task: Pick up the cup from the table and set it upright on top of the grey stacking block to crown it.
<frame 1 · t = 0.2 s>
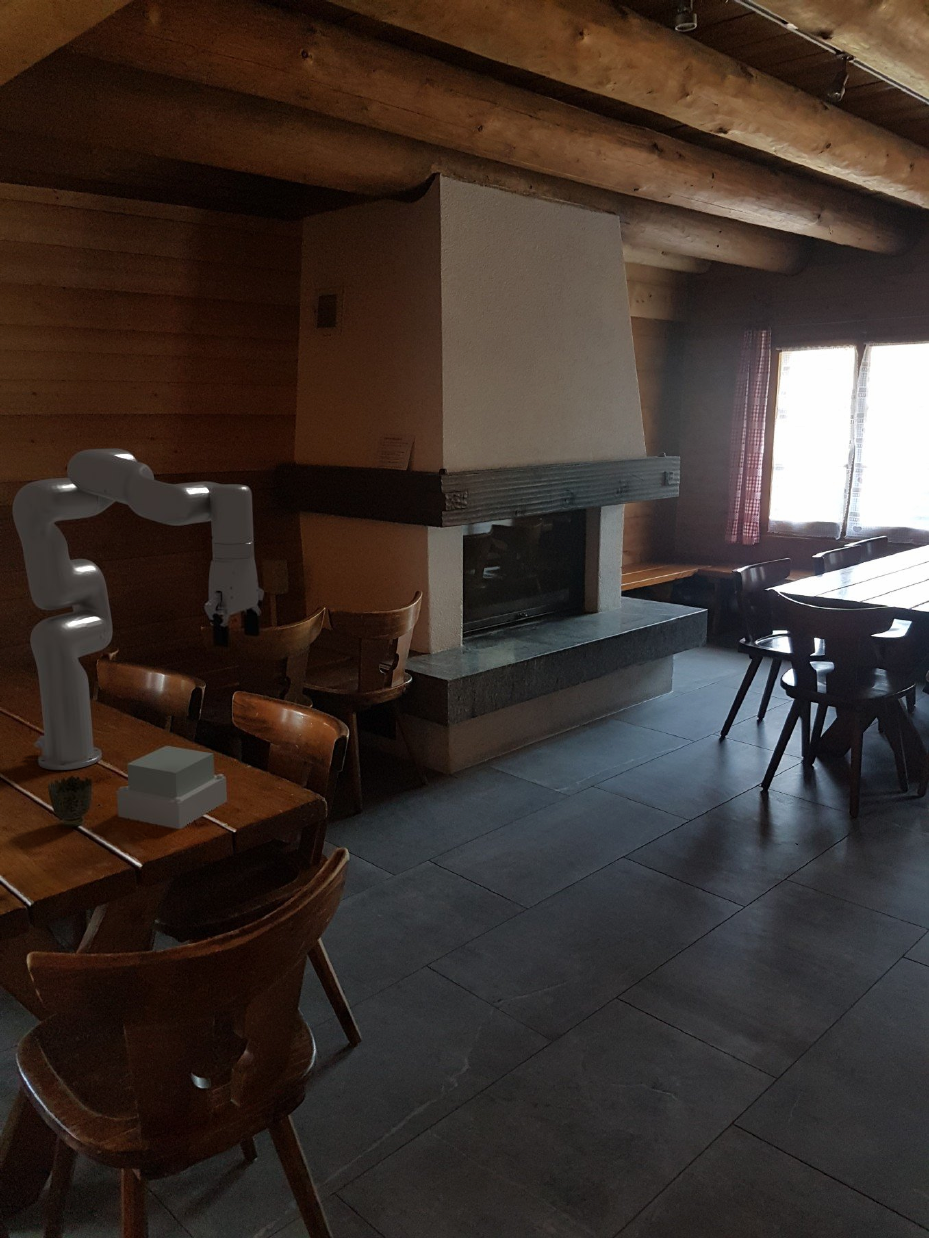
hand: (237, 640, 186), 31 cm above the table, tool pointing down, fingers open, 9 cm apart
grey stacking block: (173, 808, 185), on the table
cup: (73, 825, 178), on the table
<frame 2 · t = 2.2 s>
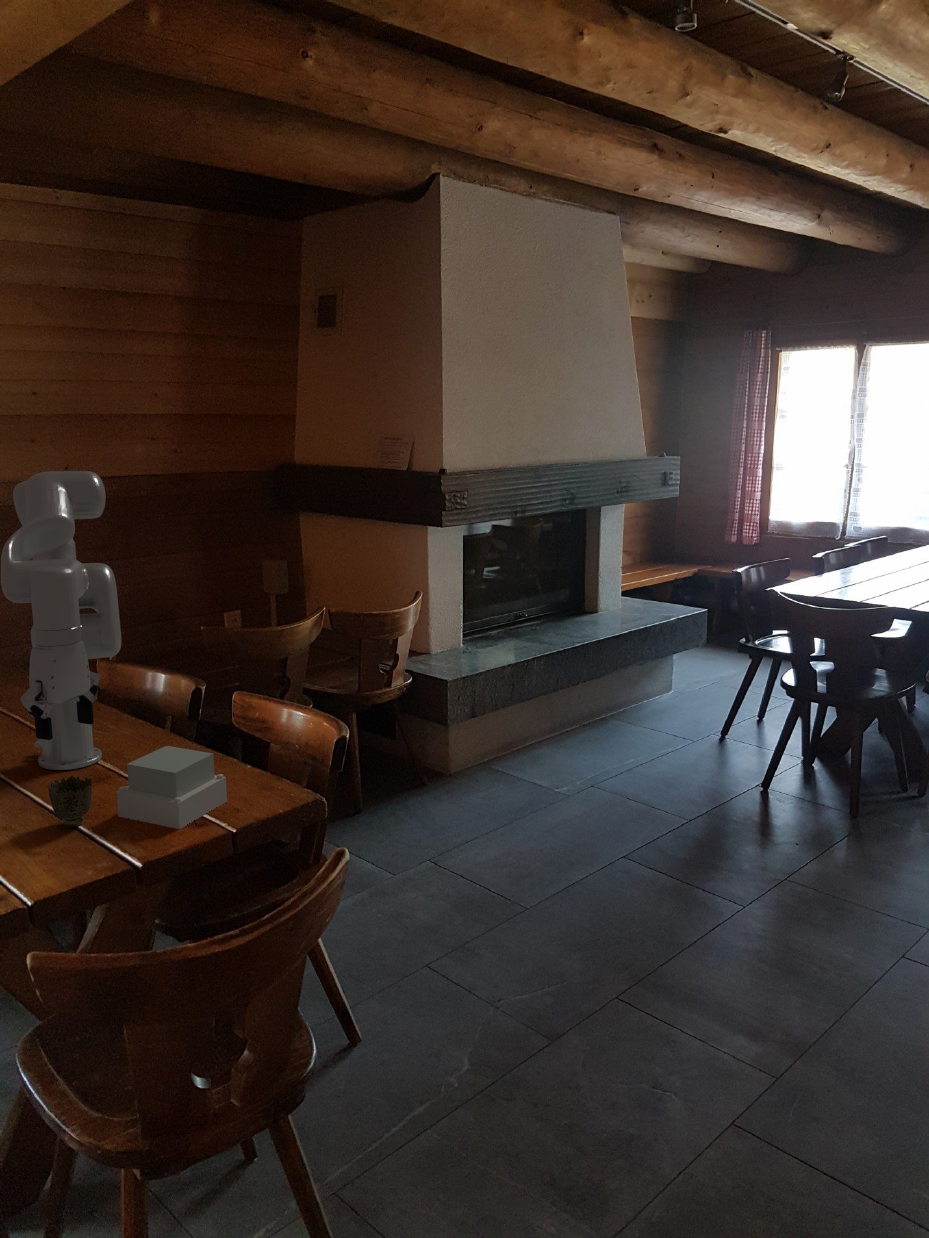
hand: (65, 730, 174), 18 cm above the table, tool pointing down, fingers open, 9 cm apart
nothing on the table moved.
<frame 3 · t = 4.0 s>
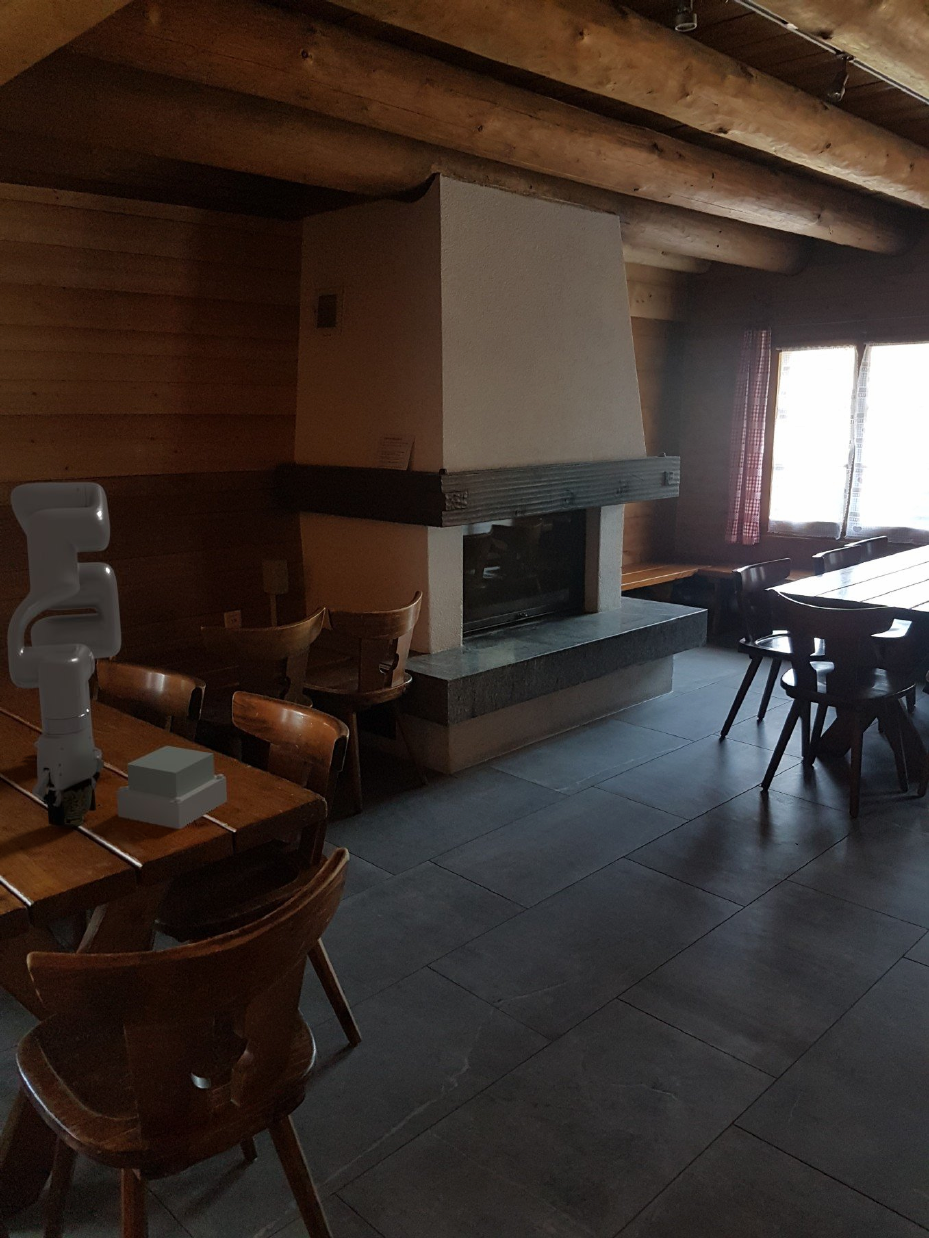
hand: (72, 816, 177), 2 cm above the table, tool pointing down, fingers closed on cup, 6 cm apart
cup: (73, 825, 178), on the table, touching gripper
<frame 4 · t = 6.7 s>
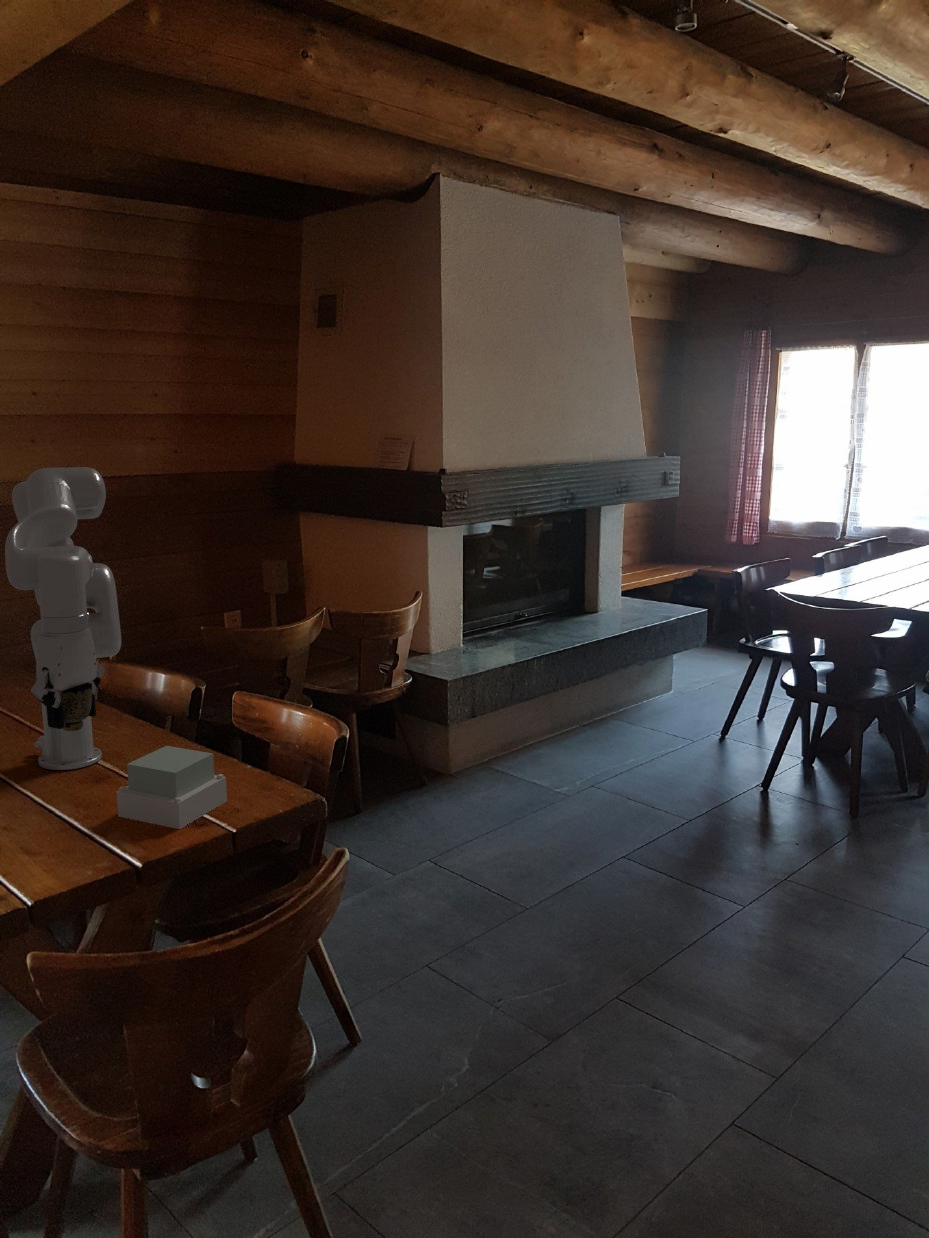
hand: (72, 720, 174), 20 cm above the table, tool pointing down, fingers closed on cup, 6 cm apart
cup: (73, 730, 175), point 18 cm above the table, touching gripper
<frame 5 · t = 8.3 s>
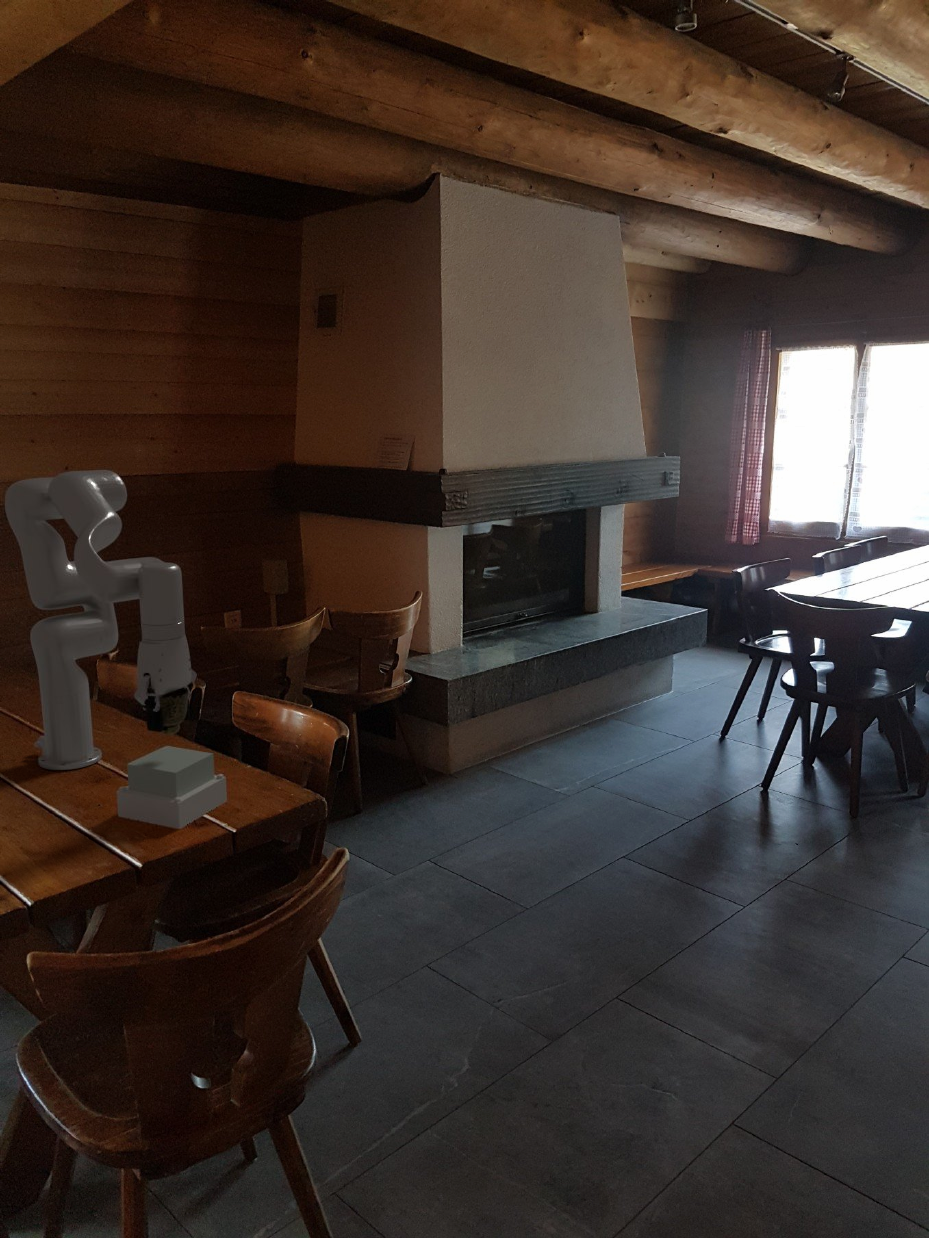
hand: (169, 724, 181), 17 cm above the table, tool pointing down, fingers closed on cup, 6 cm apart
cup: (169, 733, 182), point 15 cm above the table, touching gripper
when the fingers open (13 cm above the table, at t = 9.5 s): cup drops 1 cm, resting on grey stacking block.
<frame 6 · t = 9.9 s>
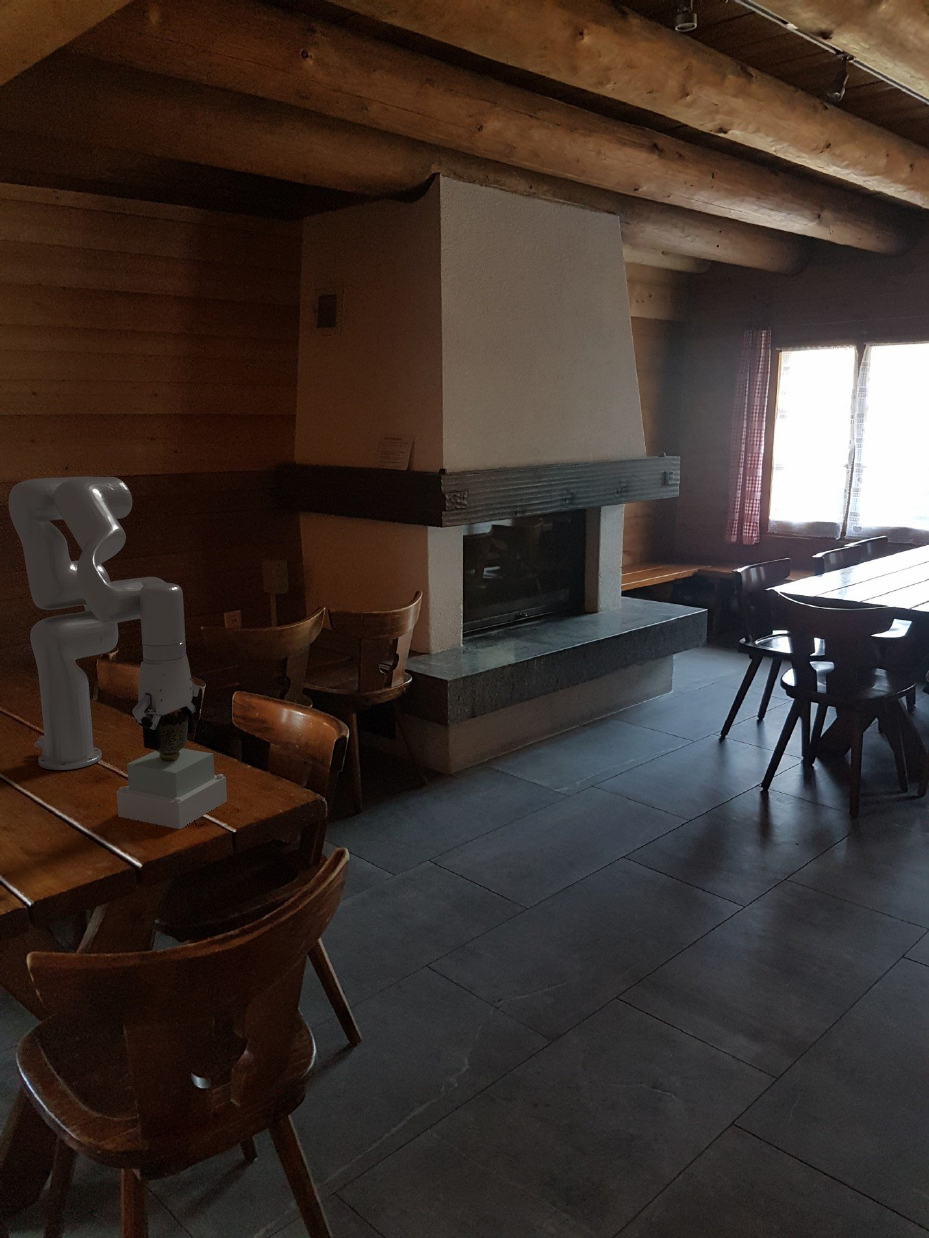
hand: (169, 740, 182), 14 cm above the table, tool pointing down, fingers open, 9 cm apart
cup: (169, 759, 183), point 10 cm above the table, touching grey stacking block
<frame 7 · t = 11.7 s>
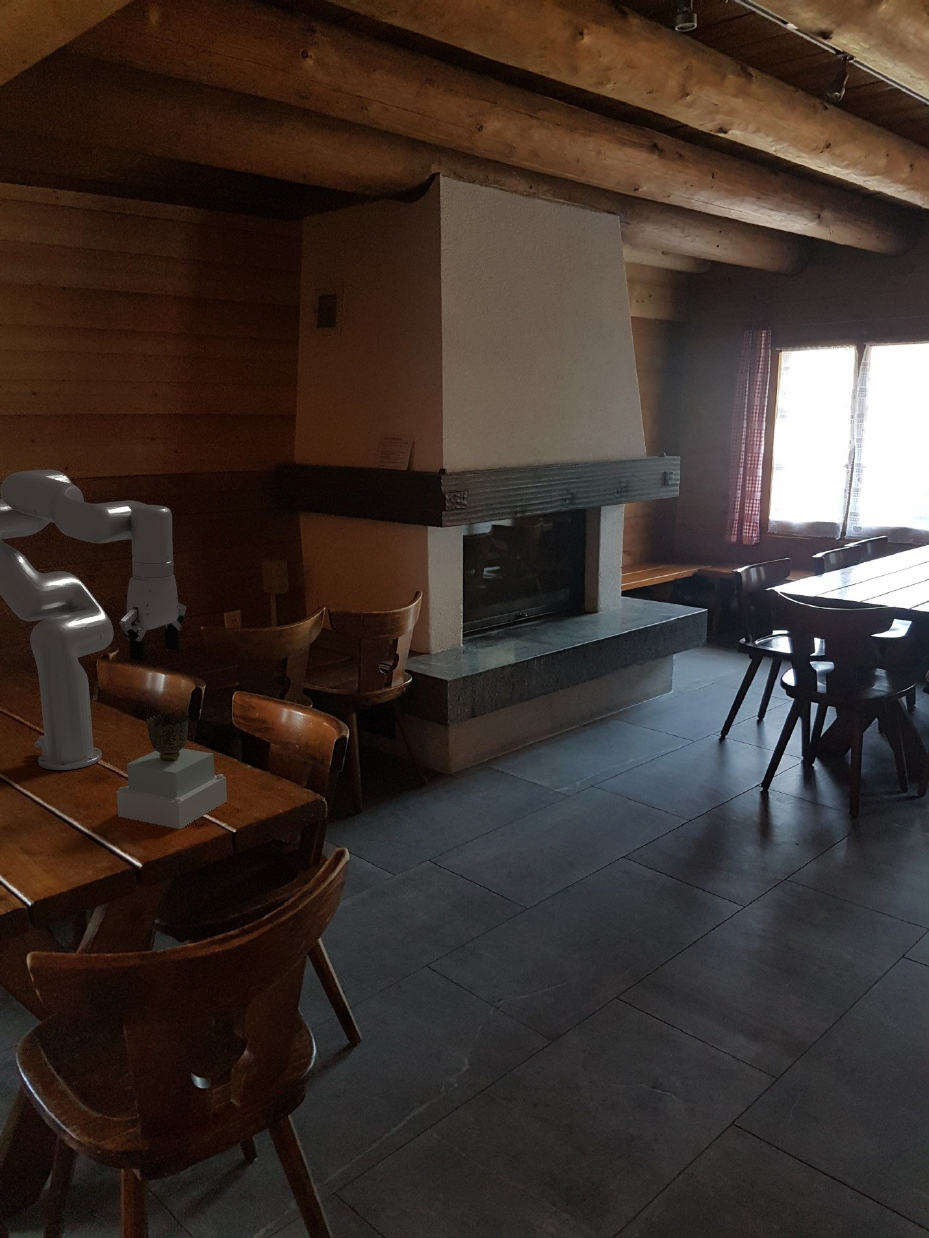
hand: (155, 654, 194), 26 cm above the table, tool pointing down, fingers open, 9 cm apart
nothing on the table moved.
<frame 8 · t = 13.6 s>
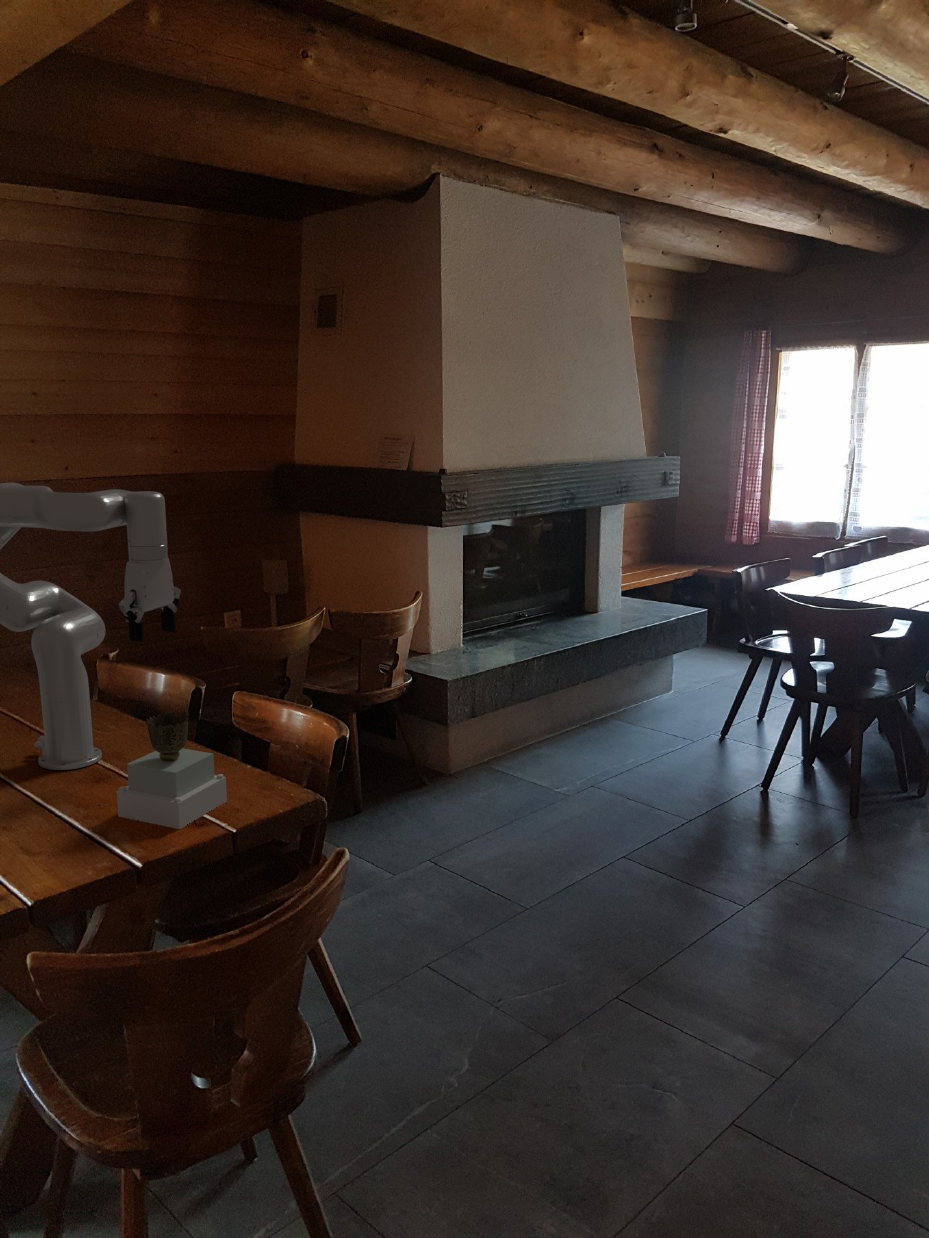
hand: (153, 636, 201), 28 cm above the table, tool pointing down, fingers open, 9 cm apart
nothing on the table moved.
at the end: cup inside the target area on the grey stacking block (0.2 cm from its centre), point 9.8 cm above the grey stacking block's base; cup tilted 0°; the gripper is holding nothing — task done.
